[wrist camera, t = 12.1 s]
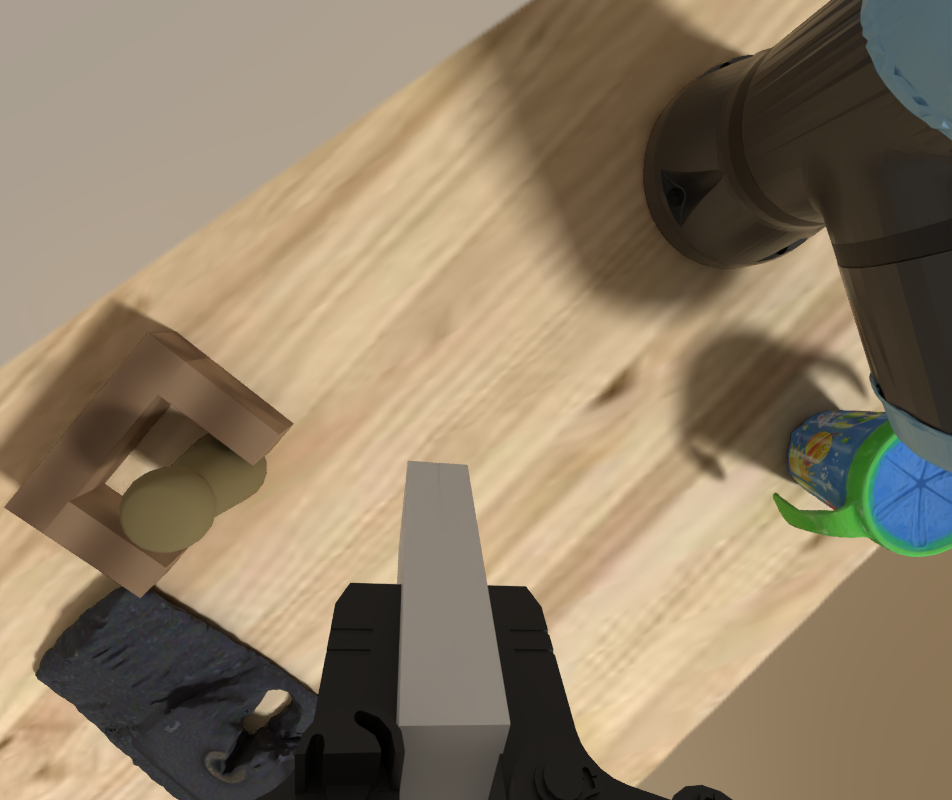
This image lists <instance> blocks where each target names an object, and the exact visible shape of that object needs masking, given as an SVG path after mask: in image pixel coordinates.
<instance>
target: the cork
mask: <svg viewBox="0 0 952 800" xmlns="http://www.w3.org/2000/svg"><path fill="white" fill-rule="evenodd" d="M266 473H267V472H266V459H265V456H264V457H263V458H262V459H260V460H259V461H258V462H257V463H256V464H254V465H251V464H250V463H249V462H247V461H246V460H245V459H243V458H242V457H241V456H239V455H238V454H237V453H235V452H234V451H233V450H231V449H230V448H229V447H227V446H226V445H225V444H223V443H222V442H221V441H219V440H218V439H217V438H215V437H214V436H213V435H211V434H210V433H208V434H206V435H205V436H203V437H202V438H200V439H199V440H198V441H197V442H196V443H194V444H193V445H192V446H191V447H190V448H189V449H188V450H187V451H186V452H185V453H184V454H183V455H182V456H181V457H180V458H179V459H177V460H176V461H175V462H174V463H173V464H172V465H171V466H170V467H163V468H160V469H156V470H153V471H150V472H148V473H146V474H144V475H143V476H141V477H140V478H138V479H137V480H135V481H134V482H133V483H132V484H131V486H130V487H129V488H128V490H127V491H126V492H125V493H124V495H123V497H122V500H121V503H120V506H119V514H120V523H121V526H122V528H123V531H124V533H125V534H126V535H127V536H128V538H129V539H130V540H131V541H132V542H133V543H135V544H136V545H138V546H140V547H141V548H143V549H147V550H150V551H153V552H158V553H171V552H175V551H178V550H182V549H185V548H187V547H190V546H191V545H193V544H194V543H196V542H197V541H199V540H200V539H201V538H202V537H203V536H204V535H205V534H206V532H207V531H208V530H209V528H210V527H211V526H212V523H213V520H214V517H216V516H218V515H220V514H221V513H223V512H225V511H227V510H228V509H230V508H232V507H234V506H235V505H237V504H239V503H241V502H242V501H244V500H246V499H247V498H249V497H250V496H252V495H253V494H255V493H256V492H257V491H258V489H259V488H260V487H261V486H262V484H263V482H264V479H265V476H266Z"/></svg>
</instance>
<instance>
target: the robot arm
mask: <svg viewBox="0 0 952 800" xmlns="http://www.w3.org/2000/svg"><path fill="white" fill-rule="evenodd" d="M644 188H645V194H646V199H647V203H648V206H649V209H650V212H651V214H652V217H653V219H654V221H655V223H656V225H657V226H658V228H659V230H660V231H661V233H662V234H663V235H664V237H665V238H666V239H667V240H668V241H669V243H670V244H671V245H673V246H674V247H675V248H676V249H677V250H678V251H679V252H681V253H682V254H684V255H685V256H687V257H688V258H690V259H692V260H694V261H696V262H698V263H701V264H704V265H707V266H711V267H717V268H741V267H746V266H751V265H757V264H762V263H765V262H769V261H771V260H774V259H777V258H779V257H781V256H783V255H785V254H787V253H789V252H791V251H792V250H794V249H795V248H797V247H798V246H799V245H801V244H802V243H804V242H805V241H806V240H807V239H808V238H810V237H812V236H813V235H815V234H816V233H817V232H819V231H820V230H822V229H823V228H824V227H826V228H827V231H828V234H829V237H830V240H831V243H832V246H833V249H834V252H835V256H836V259H837V263H838V267H839V271H840V274H841V277H842V280H843V284H844V287H845V290H846V293H847V296H848V300H849V303H850V306H851V309H852V313H853V316H854V319H855V322H856V325H857V329H858V332H859V335H860V338H861V342H862V345H863V348H864V351H865V354H866V358H867V361H868V364H869V367H870V371H871V373H870V376H869V378H870V382H871V386H872V389H873V390H874V393H875V394H876V396H877V397H878V398H879V400H880V401H881V402H882V403H883V406H884V409H885V411H886V414H887V417H888V419H889V422H890V425H891V427H892V429H893V431H894V433H895V434H896V436H897V437H898V438H899V440H900V441H901V442H903V443H904V444H905V445H906V446H907V447H908V448H909V449H910V450H911V451H912V452H913V453H915V454H916V455H917V456H919V457H920V458H922V459H923V460H925V461H927V462H929V463H931V464H933V465H935V466H937V467H939V468H941V469H943V470H946V471H948V472H951V473H952V0H831V1H829V2H828V3H827V4H826V5H824V6H823V7H822V8H821V9H819V10H818V11H817V12H816V13H814V14H813V15H812V16H811V17H810V18H808V19H807V20H806V21H805V22H803V23H802V24H801V25H800V26H798V27H797V28H796V29H795V30H793V31H792V32H791V33H790V34H788V35H787V36H786V37H785V38H783V39H782V40H781V41H780V42H779V43H777V44H776V45H775V46H774V47H772V48H770V49H766V50H763V51H760V52H758V53H756V54H755V55H747V56H741V57H737V58H733V59H730V60H727V61H724V62H722V63H720V64H717V65H715V66H713V67H712V68H710V69H708V70H706V71H705V72H703V73H702V74H700V75H699V76H698V77H696V78H695V79H694V80H693V81H691V82H690V83H689V84H688V85H687V86H686V87H685V88H684V89H683V90H681V91H680V92H679V93H678V94H677V95H676V96H675V97H674V98H673V99H672V100H671V101H670V103H669V104H668V105H667V106H666V108H665V109H664V110H663V112H662V113H661V115H660V117H659V118H658V120H657V122H656V124H655V126H654V128H653V130H652V133H651V135H650V138H649V141H648V145H647V149H646V154H645V160H644ZM255 800H669V799H667V798H663V797H661V796H658V795H655V794H652V793H649V792H646V791H643V790H640V789H638V788H635V787H632V786H629V785H627V784H625V783H622V782H620V781H618V780H616V779H614V778H613V777H611V776H610V775H609V774H607V773H606V772H605V771H603V770H602V769H601V768H600V767H599V766H598V765H597V764H596V763H595V762H594V761H593V759H592V758H591V757H590V756H589V755H588V753H587V752H586V750H585V749H584V747H583V746H582V744H581V742H580V739H579V737H578V734H577V732H576V729H575V725H574V721H573V718H572V714H571V711H570V707H569V704H568V700H567V696H566V693H565V689H564V686H563V682H562V679H561V675H560V672H559V668H558V664H557V661H556V657H555V655H554V654H553V647H552V643H551V639H550V636H549V635H548V629H547V625H546V622H545V618H544V614H543V611H542V607H541V606H540V604H539V603H538V602H537V600H536V599H535V598H534V596H533V595H532V594H531V592H530V591H529V590H528V589H527V587H525V586H491V585H487V580H486V574H485V568H484V562H483V556H482V550H481V544H480V538H479V532H478V526H477V520H476V514H475V508H474V502H473V496H472V490H471V484H470V478H469V472H468V466H467V465H462V464H447V463H432V462H417V461H408V463H407V473H406V483H405V493H404V502H403V512H402V522H401V532H400V541H399V555H398V576H397V584H371V583H350V584H349V585H348V587H347V588H346V589H345V591H344V592H343V594H342V595H341V596H340V598H339V599H338V601H337V602H336V603H335V608H334V614H333V619H332V624H331V631H330V635H329V640H328V646H327V653H326V656H325V662H324V667H323V673H322V678H321V683H320V689H319V694H318V699H317V705H316V710H315V715H314V721H313V722H312V723H311V724H310V726H309V727H308V728H307V729H306V730H305V731H304V732H303V734H302V737H301V739H300V742H299V744H298V747H297V749H296V752H295V769H294V771H293V772H292V773H291V774H290V775H289V776H288V777H287V779H286V780H284V781H283V782H282V783H281V784H279V785H278V786H277V787H276V788H274V789H273V790H272V791H270V792H268V793H266V794H264V795H262V796H261V797H259V798H257V799H255ZM672 800H732V799H731V798H729V797H728V796H726V795H725V794H724V793H722V792H721V791H718V790H715V789H712V788H709V787H706V786H703V785H696V786H685V787H684V788H683V789H682V790H680V791H679V792H678V793H676V794H675V795H674V796H673V798H672Z"/></svg>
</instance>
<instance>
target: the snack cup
mask: <svg viewBox="0 0 952 800" xmlns="http://www.w3.org/2000/svg"><path fill="white" fill-rule="evenodd" d="M788 465H789V466H788V471H789V472H790V474H791V476H792V477H793V478H794V479H795V480H796V481H797V483H798V484H799V485H800V486H801V487H802V488H803V489H805V490H806V491H808V492H809V493H810V494H812V495H813V496H815V497H817V498H818V499H819V500H820V501H822V502H823V503H825V504H826V505H828V506H829V507H830V508H832V509H833V510H835V511H828V510H817V511H816V510H798V509H797V508H795V507H794V506H793V505H791V504H790V503H789V502H787V501H786V500H784V499H783V498H781V497H780V496H779V495H778V493H774V494H773V499H774V501H775V503H776V505H777V507H778V509H779V511H780V513H781V514H782V516H783V517H784V519H785V520H786V521H787V522H788V523H789V524H790V525H792V526H794V527H796V528H799V529H803V530H806V531H809V532H813V533H818V534H822V535H827V536H833V537H836V536H837V537H849V538H854V537H868V538H869V539H871V540H872V541H874V542H875V543H877V544H879V545H881V546H883V547H885V548H887V549H888V550H891V551H893V552H895V553H898V554H901V555H906V556H909V557H918V556H929V555H934V554H938V553H941V552H944V551H946V550H949V549H951V548H952V473H951V472H948V471H946V470H943V469H941V468H939V467H937V466H935V465H933V464H931V463H929V462H927V461H925V460H923V459H922V458H920V457H919V456H917V455H916V454H915V453H913V452H912V451H911V450H910V449H909V448H908V447H907V446H906V445H905V444H904V443H903V442H901V441H900V440H899V438H898V437H897V436H896V434H895V433H894V431H893V429H892V427H891V425H890V422H889V419H888V417H887V414H886V412H871V411H844V410H831V411H825V412H823V413H817V414H815V415H813V416H812V417H810V418H809V419H808V420H806V421H805V422H804V423H803V425H801V426H800V427H799V428H797V429H796V430H795V431H793V432H792V434H791V442H790V445H789V449H788Z"/></svg>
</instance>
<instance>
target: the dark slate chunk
mask: <svg viewBox="0 0 952 800" xmlns="http://www.w3.org/2000/svg"><path fill="white" fill-rule="evenodd" d="M35 675H36V677H37V679H38V680H40V681H41V682H43V683H44V684H45V685H47V686H48V687H50V688H51V689H52V690H53V691H54V692H55V693H57V694H58V695H59V696H61V697H63V698H65V699H66V700H67V701H69V702H70V703H72V704H74V705H75V706H76V708H77V710H78V711H79V712H80V713H82V714H83V715H84V716H85V717H86V718H87V719H88V720H89V721H91V722H92V723H94V724H95V725H96V726H97V727H98V728H99V729H100V730H101V731H102V732H103V733H104V734H105V735H106V736H107V738H108V739H109V740H110V741H111V742H112V743H113V744H114V745H115V746H116V747H117V748H119V749H120V750H121V751H122V752H123V753H125V754H126V755H128V756H130V757H131V758H132V760H133V764H134V765H136V766H139V767H140V768H141V769H142V770H143V771H144V772H146V773H147V774H148V775H149V777H150V778H151V779H152V780H154V781H155V782H156V783H158V784H159V785H161V786H163V787H164V788H165V789H166V791H168V792H169V793H170V794H171V795H172V796H173V797H175V798H176V799H178V800H255V799H257V798H259V797H261V796H262V795H264V794H266V793H268V792H270V791H272V790H273V789H274V788H276V787H277V786H278V785H279V784H281V783H282V782H283V781H284V780H286V779H287V777H288V776H289V775H290V774H291V773H292V772H293V771H294V769H295V752H296V749H297V747H298V744H299V742H300V739H301V737H302V734H303V732H304V731H305V730H306V729H307V728H308V727H309V726H310V724H311V723H312V722H313V721H314V715H315V710H316V705H317V699H318V697H317V696H316V695H315V694H314V693H313V692H311V691H308V690H306V689H305V688H304V687H303V685H301V684H300V683H298V682H296V681H295V680H294V679H293V678H292V677H291V676H289V675H288V674H287V673H286V672H284V671H283V670H282V669H280V668H279V667H278V666H276V665H272V664H271V663H270V662H269V661H268V659H266V658H263V657H262V656H260V654H258V653H256V652H255V651H252V650H249V649H247V648H245V647H244V646H242V645H238V644H237V643H235V642H233V641H232V640H230V639H229V638H228V637H227V636H225V635H224V634H223V633H222V632H221V631H219V630H216V629H214V628H213V627H211V626H209V625H207V624H206V623H205V622H204V621H202V620H200V619H198V618H195V617H194V616H193V615H191V614H189V613H187V612H186V611H185V610H184V609H182V608H180V607H177V606H175V605H173V604H171V603H169V602H168V601H167V600H166V599H164V598H163V597H162V596H160V595H159V594H158V593H156V592H154V591H152V590H150V589H149V590H148V591H147V592H146V593H145V594H144V595H143V596H142V597H141V598H139V597H138V596H136V595H135V594H133V593H132V592H130V591H129V590H127V589H126V588H124V587H121V588H118V589H116V590H114V591H113V592H111V593H110V594H109V595H108V596H106V597H105V598H104V599H102V600H101V601H99V602H98V603H97V604H96V605H95V606H93V607H92V608H89V609H87V610H86V611H85V613H83V614H82V615H81V616H80V618H79V619H78V620H77V621H76V622H75V624H73V625H72V626H70V627H69V628H67V629H66V630H65V631H64V632H63V633H62V635H61V636H60V637H59V638H58V639H57V641H56V643H55V646H54V648H51V649H49V650H48V651H47V652H46V653H45V655H44V657H43V659H42V660H41V663H40V667H39V669H38V671H37V673H36V674H35ZM273 689H274V690H278V689H281V690H284V691H287V692H289V693H290V695H291V697H292V701H291V703H290V704H289V705H288V706H287V707H286V708H285V709H284V711H282V712H281V713H280V714H279V715H276V716H274V717H272V718H271V719H270V720H269V722H268V727H266V726H264V727H263V728H261V729H259V730H258V731H257V732H256V733H255V734H254V735H247V733H248V732H247V731H245V730H244V727H243V726H242V720H243V718H244V717H245V716H249V715H251V714H252V713H253V712H254V710H255V709H256V707H257V706H258V705H259V704H260V702H261V701H262V699H263V697H264V696H265V694H266V693H267V691H268V690H273Z"/></svg>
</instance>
